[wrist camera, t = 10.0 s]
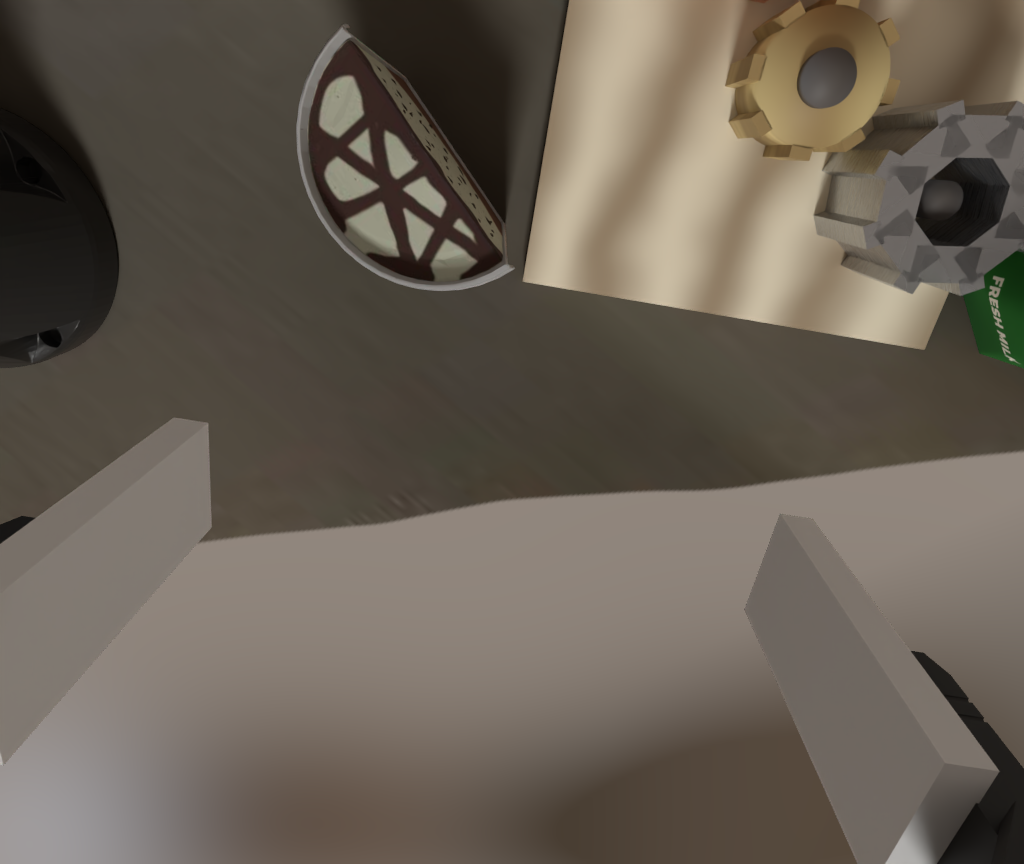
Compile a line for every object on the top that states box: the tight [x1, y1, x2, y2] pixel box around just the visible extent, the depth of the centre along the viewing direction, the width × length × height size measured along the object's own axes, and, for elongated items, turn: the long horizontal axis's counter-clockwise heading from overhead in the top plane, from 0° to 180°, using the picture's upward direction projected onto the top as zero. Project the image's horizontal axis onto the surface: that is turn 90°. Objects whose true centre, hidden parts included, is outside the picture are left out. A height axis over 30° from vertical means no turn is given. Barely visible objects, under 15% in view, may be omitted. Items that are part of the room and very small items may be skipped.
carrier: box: [523, 0, 1024, 350], centre depth 32 cm, size 24×24×6 cm
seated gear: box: [813, 100, 1024, 296], centre depth 32 cm, size 8×8×6 cm
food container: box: [296, 24, 515, 291], centre depth 33 cm, size 12×6×10 cm, turn 35°
